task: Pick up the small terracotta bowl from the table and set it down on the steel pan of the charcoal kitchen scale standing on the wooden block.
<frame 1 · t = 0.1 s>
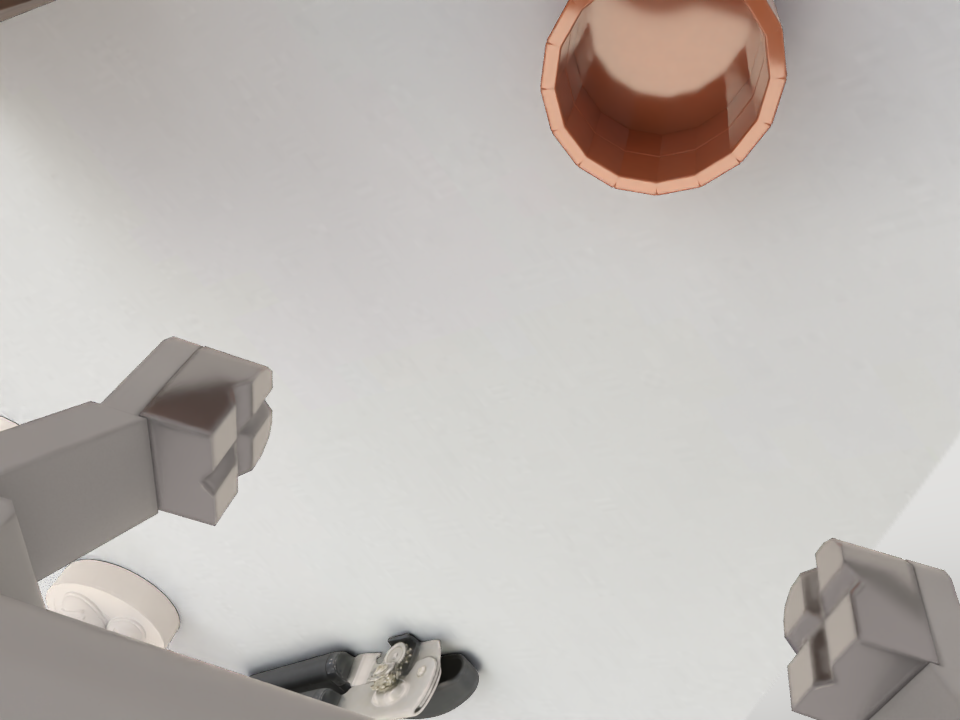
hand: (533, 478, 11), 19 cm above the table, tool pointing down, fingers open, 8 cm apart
character figurine: (121, 601, 55), on the table
bowl: (665, 41, 25), on the table
can opener: (354, 666, 52), on the table
figurine: (10, 454, 47), on the table
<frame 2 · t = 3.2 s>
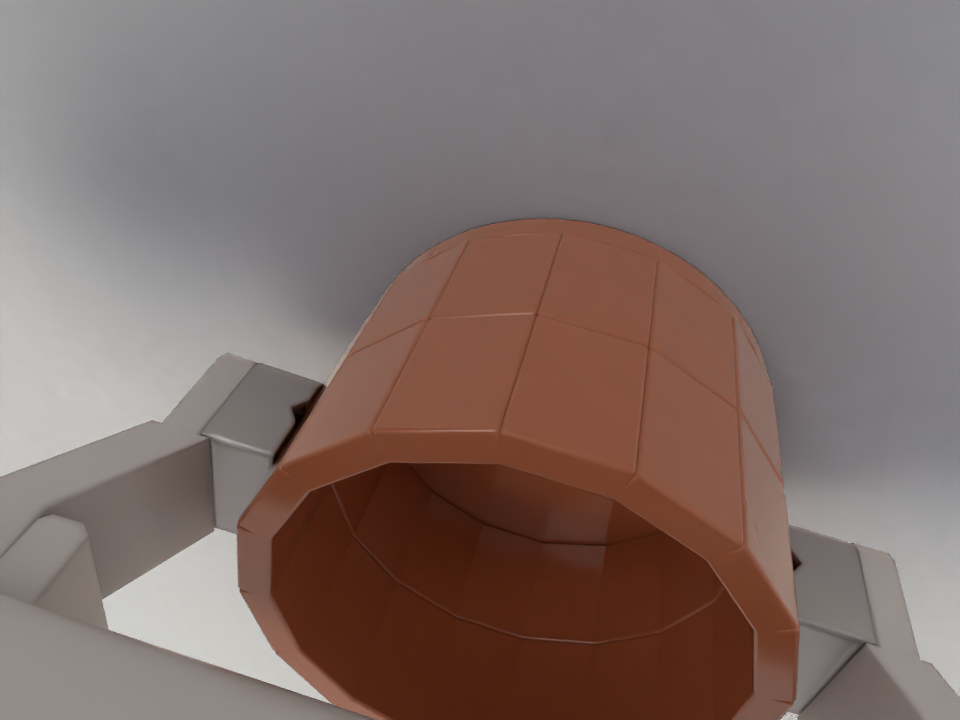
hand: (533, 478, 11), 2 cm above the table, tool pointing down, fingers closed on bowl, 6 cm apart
bowl: (555, 401, 12), on the table, touching gripper
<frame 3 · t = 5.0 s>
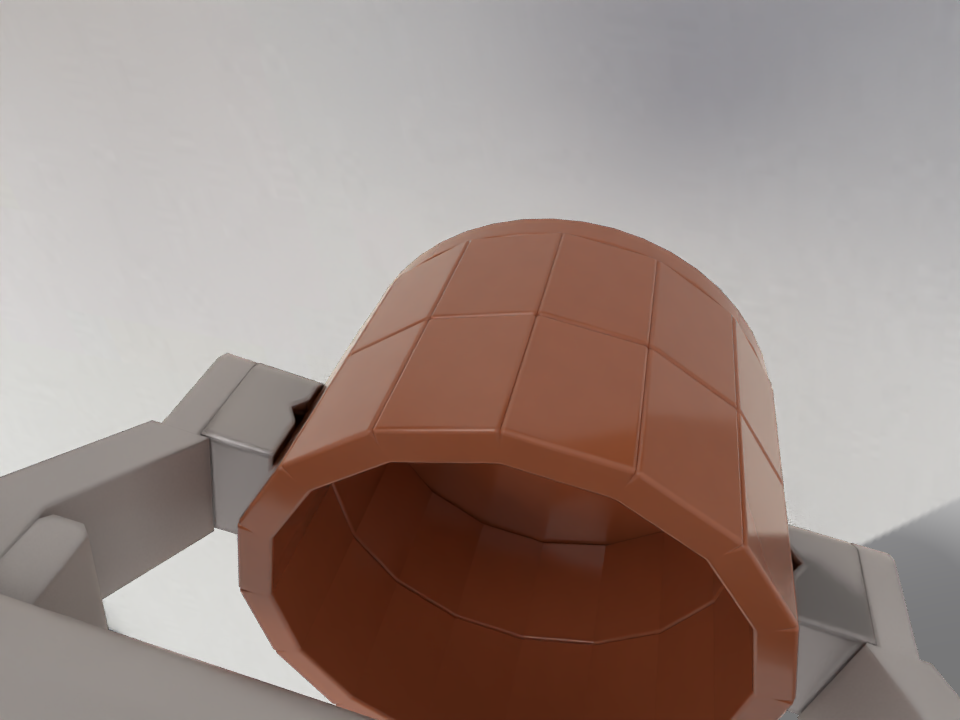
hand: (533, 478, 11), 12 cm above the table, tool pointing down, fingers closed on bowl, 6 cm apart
bowl: (555, 400, 12), point 10 cm above the table, touching gripper
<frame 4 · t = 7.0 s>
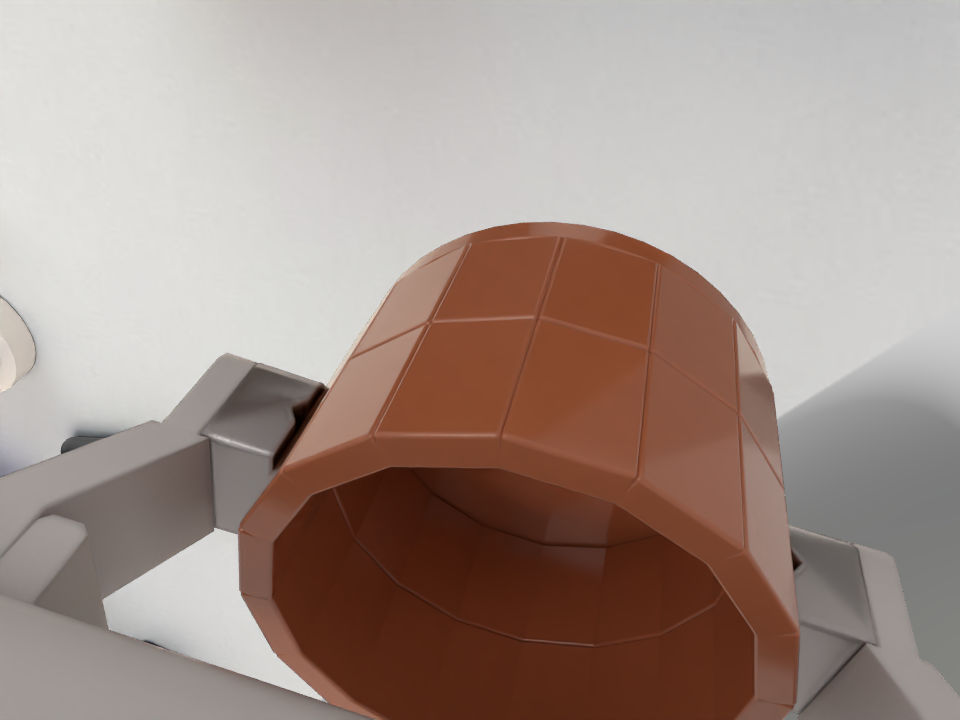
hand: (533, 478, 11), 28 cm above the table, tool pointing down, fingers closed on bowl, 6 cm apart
bowl: (556, 403, 12), point 27 cm above the table, touching gripper
can opener: (188, 460, 58), on the table
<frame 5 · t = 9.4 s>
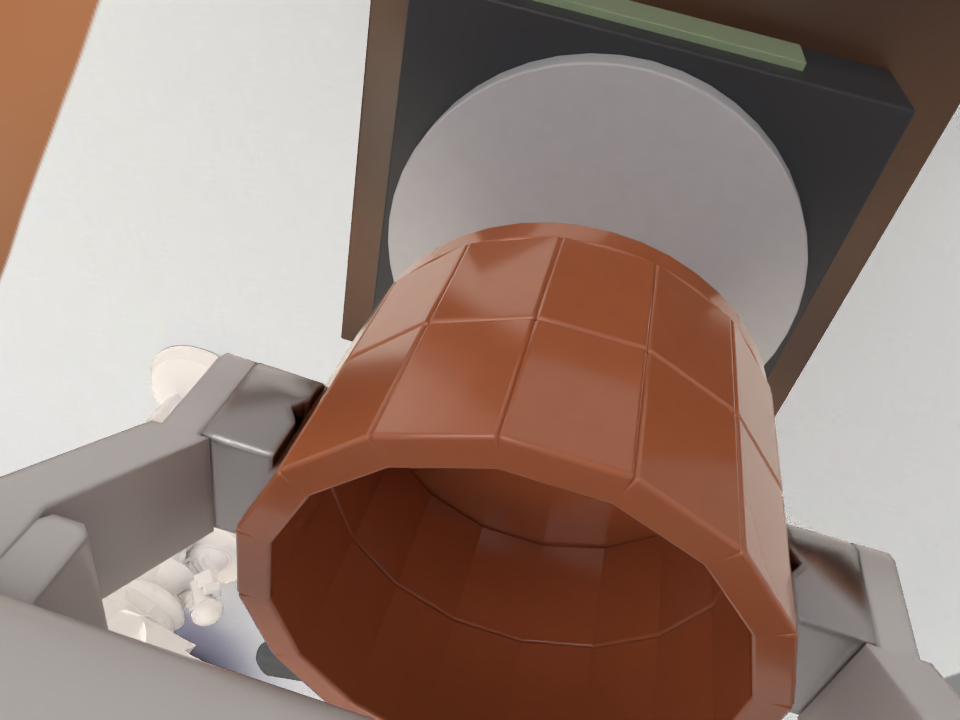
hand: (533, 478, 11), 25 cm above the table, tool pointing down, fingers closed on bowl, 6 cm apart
character figurine: (200, 523, 58), on the table
bowl: (554, 404, 12), point 23 cm above the table, touching gripper
can opener: (392, 637, 61), on the table
figurine: (204, 389, 49), on the table
wooden block: (644, 35, 30), on the table
scale: (600, 211, 18), resting on wooden block
when the fingers open (21 cm above the table, at t = 11.1 s): bowl stays where it is, resting on scale.
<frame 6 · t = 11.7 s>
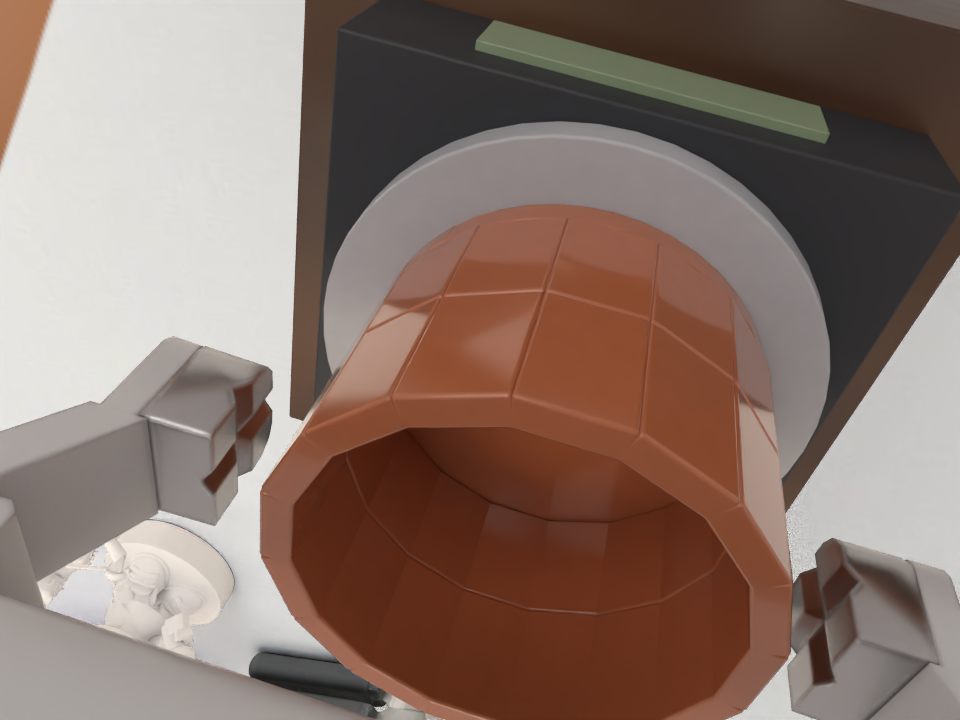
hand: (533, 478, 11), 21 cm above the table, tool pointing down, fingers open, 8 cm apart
character figurine: (174, 561, 55), on the table
bowl: (560, 381, 13), point 19 cm above the table, touching scale
can opener: (376, 679, 58), on the table
figurine: (174, 427, 46), on the table
wooden block: (636, 62, 28), on the table
scale: (580, 288, 15), resting on wooden block
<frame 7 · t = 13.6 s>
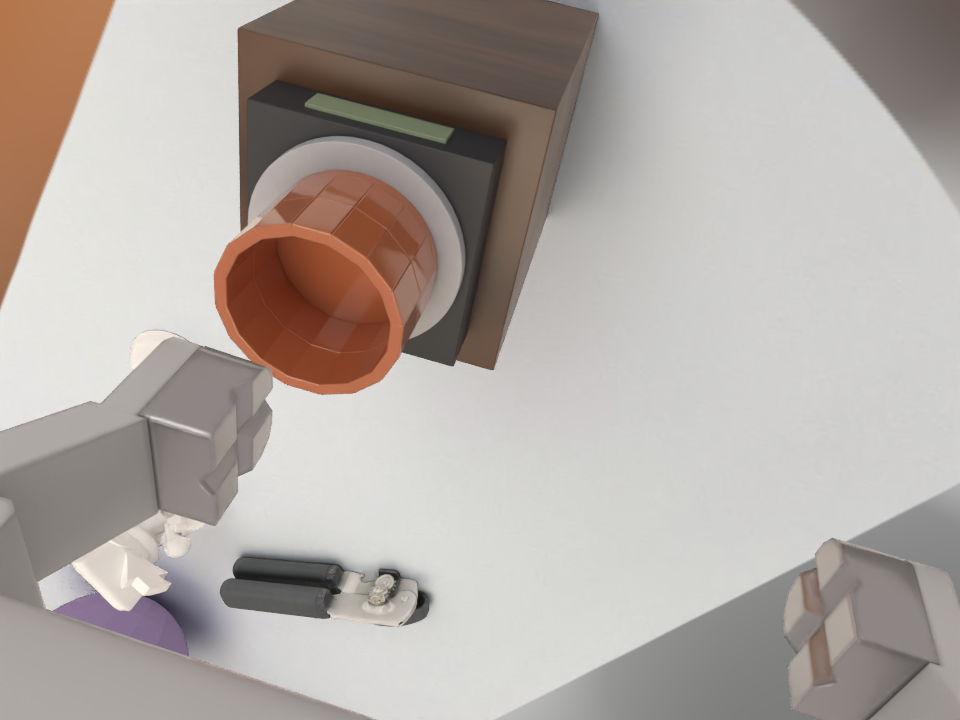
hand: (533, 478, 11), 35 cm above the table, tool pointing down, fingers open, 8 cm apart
character figurine: (173, 481, 70), on the table
bowl: (354, 252, 29), point 19 cm above the table, touching scale
can opener: (333, 575, 73), on the table
figurine: (173, 366, 62), on the table
purple ovoid: (151, 602, 83), on the table
wooden block: (468, 98, 44), on the table
scale: (378, 217, 31), resting on wooden block
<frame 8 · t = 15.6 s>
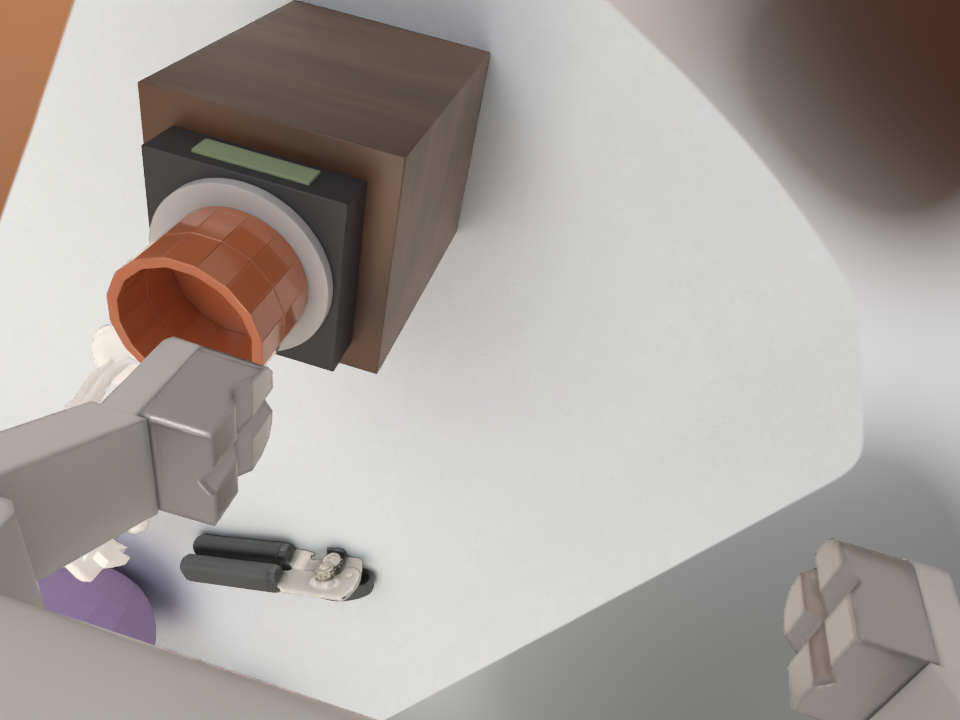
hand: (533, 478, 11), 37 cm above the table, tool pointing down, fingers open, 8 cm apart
character figurine: (136, 463, 76), on the table
bowl: (238, 274, 34), point 19 cm above the table, touching scale
can opener: (287, 553, 79), on the table
figurine: (132, 357, 67), on the table
purple ovoid: (122, 575, 89), on the table
wooden block: (381, 123, 48), on the table
scale: (268, 241, 36), resting on wooden block
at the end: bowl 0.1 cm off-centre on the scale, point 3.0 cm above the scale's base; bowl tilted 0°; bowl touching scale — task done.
